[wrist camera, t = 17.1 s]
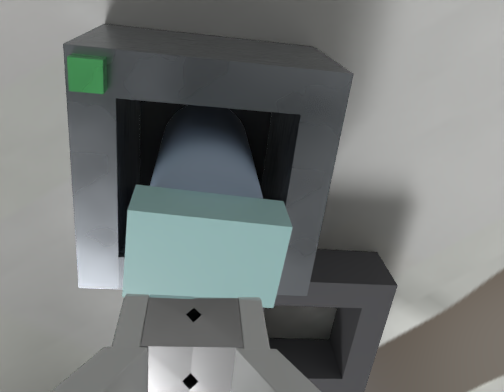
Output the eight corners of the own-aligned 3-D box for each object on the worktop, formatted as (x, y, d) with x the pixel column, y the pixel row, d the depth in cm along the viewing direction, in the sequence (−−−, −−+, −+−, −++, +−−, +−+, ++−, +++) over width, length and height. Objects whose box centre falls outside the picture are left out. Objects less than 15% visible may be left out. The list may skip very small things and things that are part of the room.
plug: (257, 109, 21) (297, 207, 12) (244, 186, 23) (269, 323, 14) (162, 95, 20) (128, 189, 11) (155, 176, 22) (121, 313, 13)
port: (314, 46, 20) (359, 77, 14) (284, 223, 24) (310, 305, 18) (104, 23, 19) (57, 46, 13) (109, 213, 23) (74, 297, 17)
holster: (377, 252, 25) (397, 285, 23) (347, 358, 29) (362, 398, 26) (234, 245, 24) (238, 279, 21) (221, 356, 28) (223, 397, 25)
